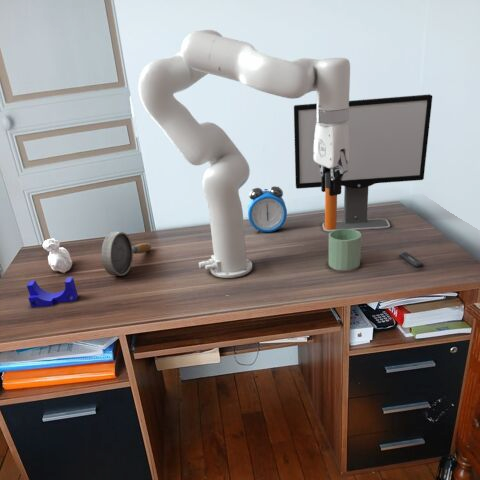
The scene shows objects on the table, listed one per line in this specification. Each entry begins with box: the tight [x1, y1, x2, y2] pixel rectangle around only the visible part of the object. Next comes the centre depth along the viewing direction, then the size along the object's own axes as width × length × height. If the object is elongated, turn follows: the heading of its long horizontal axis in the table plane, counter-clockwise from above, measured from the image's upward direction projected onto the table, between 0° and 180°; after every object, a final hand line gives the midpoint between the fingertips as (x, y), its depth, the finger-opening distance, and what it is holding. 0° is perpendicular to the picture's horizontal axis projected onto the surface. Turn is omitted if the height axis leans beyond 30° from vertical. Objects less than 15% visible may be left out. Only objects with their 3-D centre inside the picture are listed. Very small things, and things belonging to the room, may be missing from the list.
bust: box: [41, 237, 73, 274], centre depth 159 cm, size 12×8×11 cm
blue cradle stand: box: [26, 276, 79, 308], centre depth 140 cm, size 12×4×6 cm, turn 92°
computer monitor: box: [293, 93, 433, 233], centre depth 163 cm, size 41×8×40 cm, turn 88°
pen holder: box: [327, 229, 362, 271], centre depth 145 cm, size 9×9×10 cm
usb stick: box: [399, 251, 424, 269], centre depth 144 cm, size 10×3×2 cm, turn 14°
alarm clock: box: [247, 185, 288, 234], centre depth 172 cm, size 13×6×15 cm, turn 91°
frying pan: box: [100, 231, 152, 277], centre depth 157 cm, size 13×3×25 cm
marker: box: [324, 171, 338, 230], centre depth 130 cm, size 3×3×14 cm
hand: (331, 192), depth 129 cm, fingers closed on marker, 3 cm apart
